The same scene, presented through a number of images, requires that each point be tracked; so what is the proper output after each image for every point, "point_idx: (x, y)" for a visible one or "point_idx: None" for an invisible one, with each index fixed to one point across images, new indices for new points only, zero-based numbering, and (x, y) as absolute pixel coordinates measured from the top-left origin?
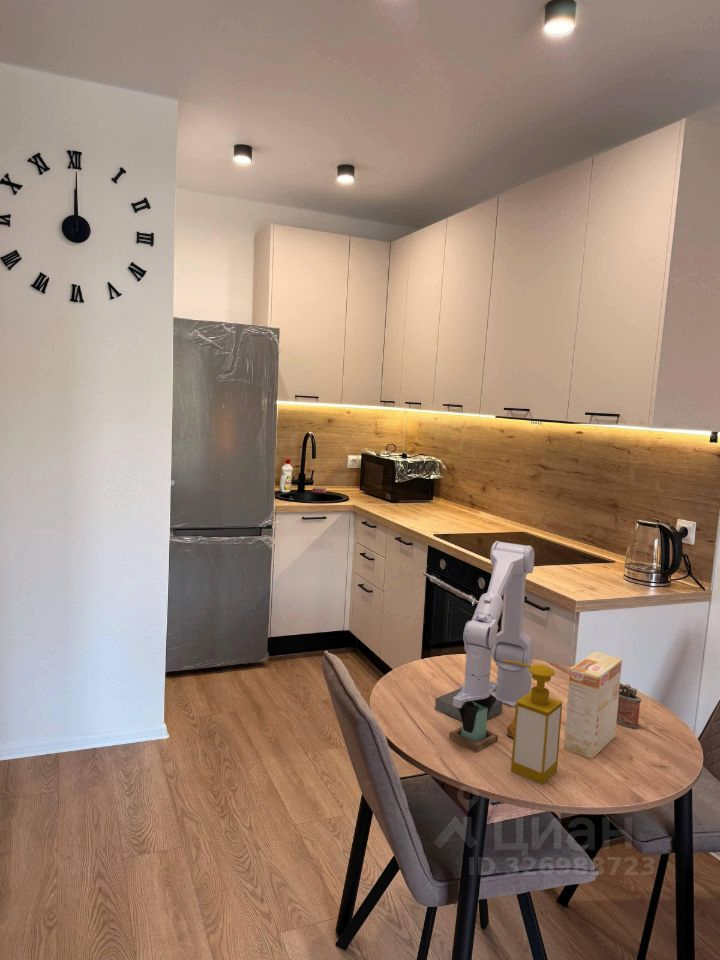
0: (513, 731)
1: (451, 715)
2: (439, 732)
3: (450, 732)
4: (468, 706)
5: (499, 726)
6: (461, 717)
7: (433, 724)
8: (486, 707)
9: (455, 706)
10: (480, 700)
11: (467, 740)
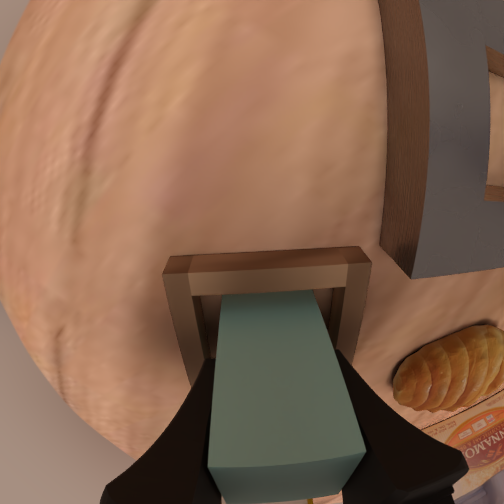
0: (402, 397)
1: (391, 90)
2: (173, 175)
3: (168, 278)
4: None
5: (451, 301)
6: (176, 416)
7: (218, 78)
8: (344, 488)
9: (436, 113)
10: (363, 498)
11: (193, 367)
